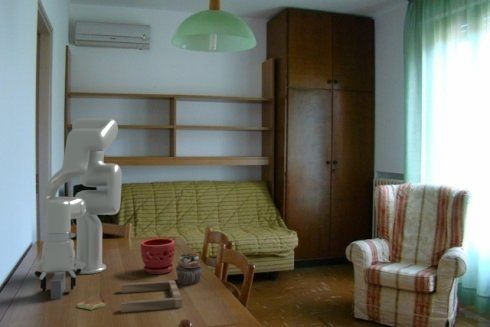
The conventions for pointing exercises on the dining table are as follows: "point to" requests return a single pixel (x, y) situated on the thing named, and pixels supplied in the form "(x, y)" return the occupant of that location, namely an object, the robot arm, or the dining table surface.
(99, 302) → the shard
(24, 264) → the dining table surface
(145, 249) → the plant pot
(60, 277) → the block
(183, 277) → the cupcake
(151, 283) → the walnut frame
